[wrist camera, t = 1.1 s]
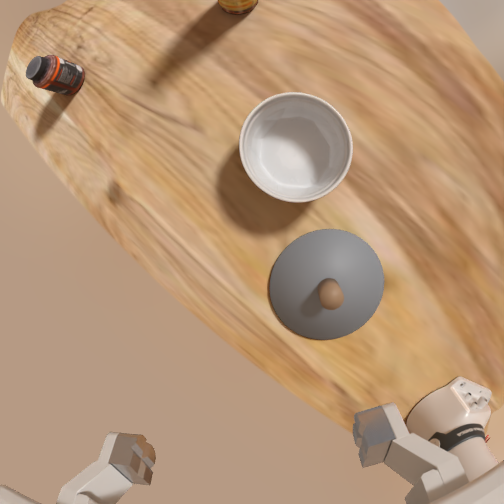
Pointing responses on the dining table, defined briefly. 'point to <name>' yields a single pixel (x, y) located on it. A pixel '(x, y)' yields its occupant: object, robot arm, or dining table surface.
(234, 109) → the dining table surface
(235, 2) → the sauce bottle
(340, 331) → the lid
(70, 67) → the supplement bottle
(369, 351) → the dining table surface
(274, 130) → the ramekin
